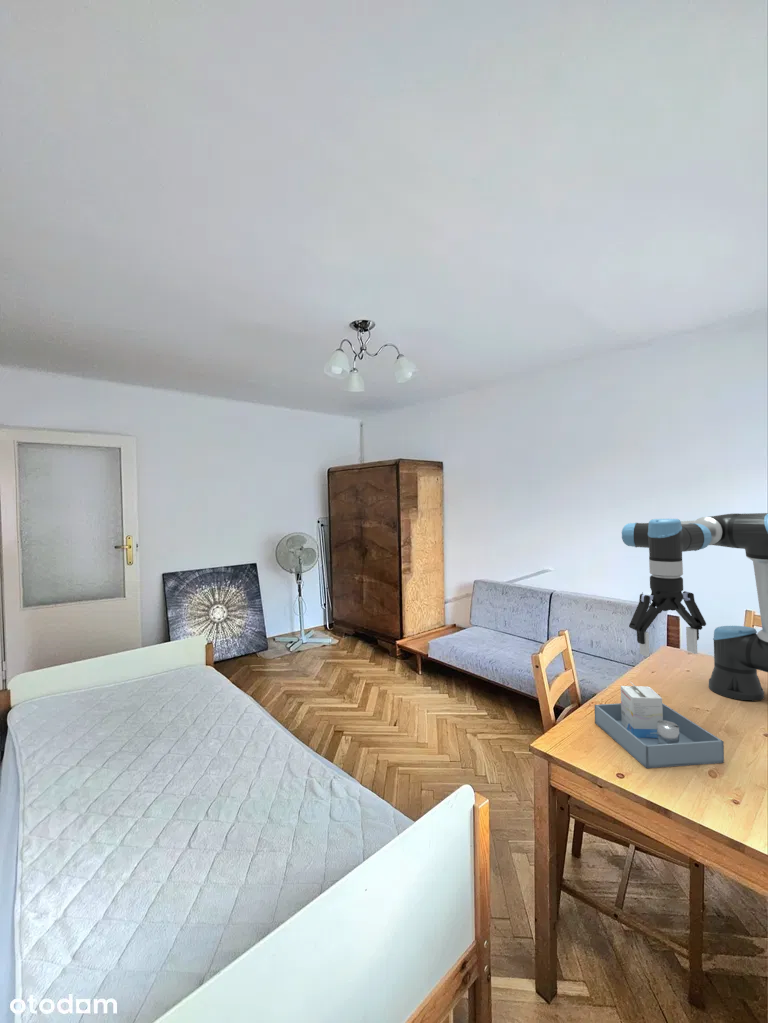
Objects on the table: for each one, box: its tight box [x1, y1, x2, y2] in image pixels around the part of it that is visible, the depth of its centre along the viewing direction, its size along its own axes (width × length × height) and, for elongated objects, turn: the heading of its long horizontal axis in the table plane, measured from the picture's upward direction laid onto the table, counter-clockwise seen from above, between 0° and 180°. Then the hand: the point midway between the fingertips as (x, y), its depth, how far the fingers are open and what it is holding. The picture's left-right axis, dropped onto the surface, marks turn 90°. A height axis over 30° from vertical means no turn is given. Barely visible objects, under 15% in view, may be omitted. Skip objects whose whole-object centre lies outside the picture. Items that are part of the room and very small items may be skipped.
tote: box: [594, 702, 725, 769], centre depth 121 cm, size 21×23×6 cm
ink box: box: [620, 682, 663, 738], centre depth 125 cm, size 9×8×13 cm
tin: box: [657, 720, 679, 744], centre depth 115 cm, size 5×5×7 cm
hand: (668, 653), depth 115 cm, fingers open, 13 cm apart
